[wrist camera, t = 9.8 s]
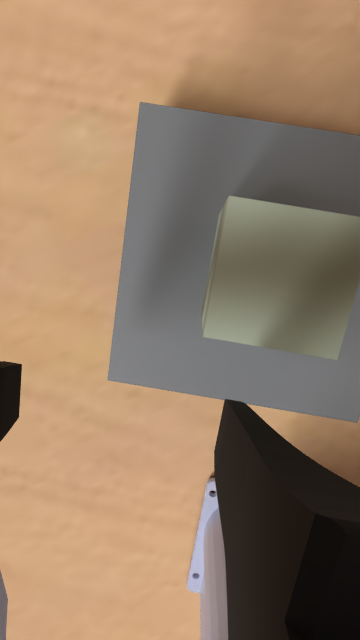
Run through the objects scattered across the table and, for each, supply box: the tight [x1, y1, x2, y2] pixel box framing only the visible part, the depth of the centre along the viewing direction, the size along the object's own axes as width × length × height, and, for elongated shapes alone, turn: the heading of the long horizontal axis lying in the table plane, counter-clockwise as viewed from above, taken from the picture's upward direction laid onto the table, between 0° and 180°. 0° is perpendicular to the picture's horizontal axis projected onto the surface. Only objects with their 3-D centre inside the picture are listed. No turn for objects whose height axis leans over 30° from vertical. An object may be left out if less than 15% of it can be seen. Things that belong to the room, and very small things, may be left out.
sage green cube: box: [201, 196, 360, 360], centre depth 14 cm, size 5×5×5 cm
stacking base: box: [108, 102, 360, 423], centre depth 18 cm, size 14×14×3 cm
